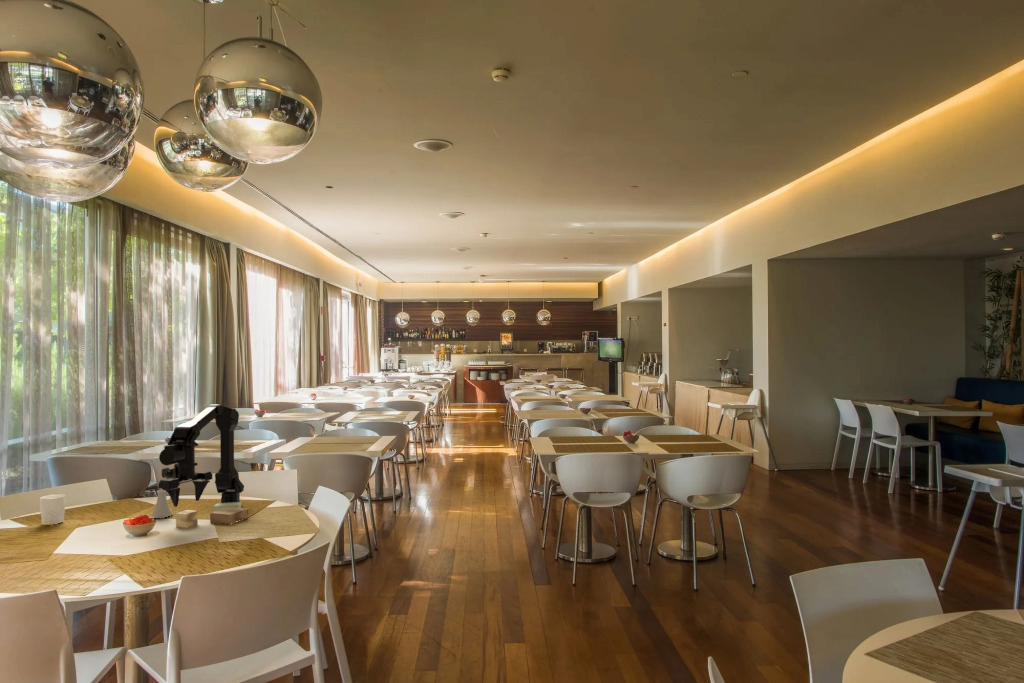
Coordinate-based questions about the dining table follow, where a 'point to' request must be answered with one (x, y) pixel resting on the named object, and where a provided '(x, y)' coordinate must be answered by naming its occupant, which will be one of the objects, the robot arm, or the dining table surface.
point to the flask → (162, 506)
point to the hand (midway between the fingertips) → (186, 503)
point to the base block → (228, 515)
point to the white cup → (52, 508)
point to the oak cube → (186, 518)
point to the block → (226, 505)
